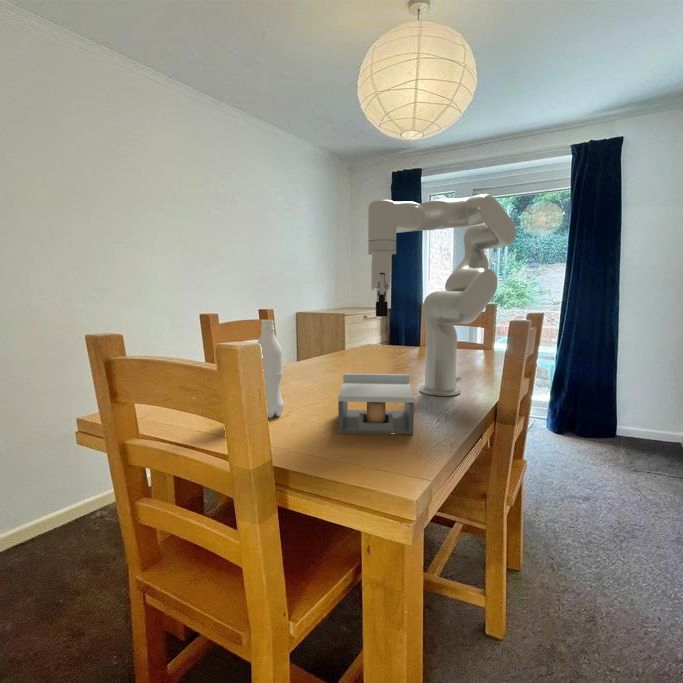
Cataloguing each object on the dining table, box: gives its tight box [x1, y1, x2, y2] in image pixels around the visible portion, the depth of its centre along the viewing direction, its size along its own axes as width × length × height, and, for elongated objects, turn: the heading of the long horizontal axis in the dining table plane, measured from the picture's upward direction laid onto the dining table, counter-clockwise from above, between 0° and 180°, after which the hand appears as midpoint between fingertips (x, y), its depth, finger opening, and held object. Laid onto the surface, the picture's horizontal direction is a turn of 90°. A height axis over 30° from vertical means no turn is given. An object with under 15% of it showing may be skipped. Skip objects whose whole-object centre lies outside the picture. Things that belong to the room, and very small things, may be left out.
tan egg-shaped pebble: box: [366, 402, 387, 423], centre depth 97 cm, size 4×4×6 cm
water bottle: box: [256, 319, 285, 419], centre depth 105 cm, size 7×7×25 cm
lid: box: [337, 372, 415, 404], centre depth 99 cm, size 15×17×3 cm
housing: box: [337, 401, 415, 435], centre depth 100 cm, size 15×17×7 cm
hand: (381, 316), depth 113 cm, fingers closed
